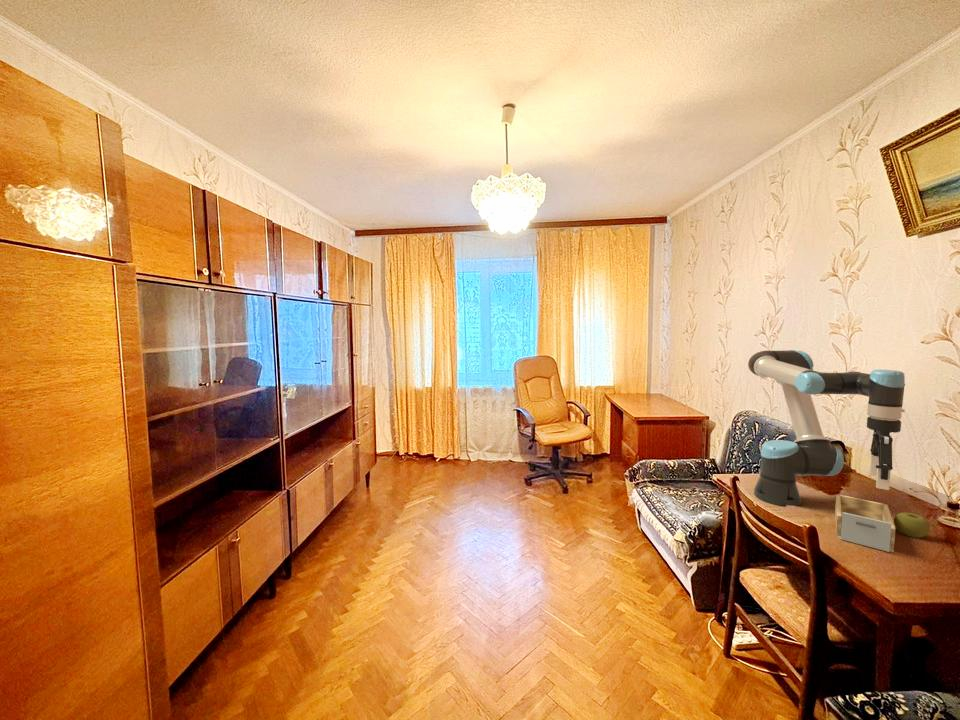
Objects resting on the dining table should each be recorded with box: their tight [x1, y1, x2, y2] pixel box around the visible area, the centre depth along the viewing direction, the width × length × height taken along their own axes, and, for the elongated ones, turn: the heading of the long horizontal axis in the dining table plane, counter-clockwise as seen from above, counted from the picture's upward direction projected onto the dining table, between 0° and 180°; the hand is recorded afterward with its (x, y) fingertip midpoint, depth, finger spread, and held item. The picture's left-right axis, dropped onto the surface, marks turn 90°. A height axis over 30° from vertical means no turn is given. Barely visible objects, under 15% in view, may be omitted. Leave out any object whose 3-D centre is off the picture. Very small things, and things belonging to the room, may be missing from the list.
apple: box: [893, 512, 931, 539], centre depth 127 cm, size 8×8×7 cm
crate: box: [834, 493, 896, 553], centre depth 129 cm, size 13×22×8 cm, turn 138°
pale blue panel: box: [840, 512, 892, 553], centre depth 120 cm, size 11×1×9 cm, turn 48°
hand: (878, 481), depth 124 cm, fingers open, 13 cm apart
